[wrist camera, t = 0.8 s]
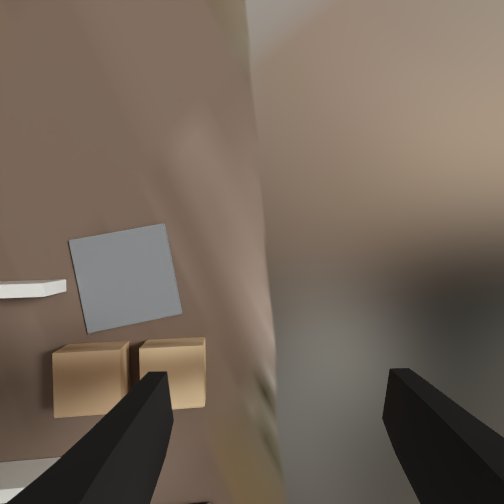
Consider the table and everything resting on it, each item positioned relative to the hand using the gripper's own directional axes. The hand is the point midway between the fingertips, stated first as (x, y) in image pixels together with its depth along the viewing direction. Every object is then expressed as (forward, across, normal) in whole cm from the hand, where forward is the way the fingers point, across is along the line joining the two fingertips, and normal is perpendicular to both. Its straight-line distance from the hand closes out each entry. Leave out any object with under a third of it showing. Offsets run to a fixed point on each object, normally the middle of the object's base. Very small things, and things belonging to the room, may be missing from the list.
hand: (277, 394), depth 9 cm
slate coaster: (+16, +12, +2) cm, 20 cm away
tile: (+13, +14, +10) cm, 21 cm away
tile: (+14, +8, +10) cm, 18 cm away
